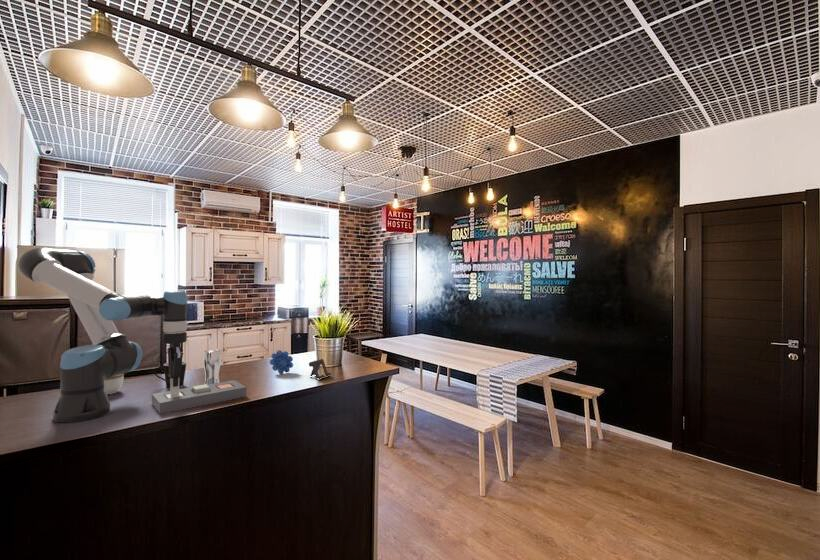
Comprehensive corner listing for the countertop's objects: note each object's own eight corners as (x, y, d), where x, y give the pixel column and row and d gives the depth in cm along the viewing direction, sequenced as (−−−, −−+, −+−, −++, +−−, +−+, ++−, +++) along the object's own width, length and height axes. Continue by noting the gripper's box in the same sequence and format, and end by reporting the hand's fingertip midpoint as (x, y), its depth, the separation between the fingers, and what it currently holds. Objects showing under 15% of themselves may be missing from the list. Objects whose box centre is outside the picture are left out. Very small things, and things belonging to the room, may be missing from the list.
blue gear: (271, 377, 186) (271, 352, 186) (268, 373, 192) (268, 350, 192) (295, 374, 192) (295, 350, 192) (291, 371, 198) (292, 348, 198)
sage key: (195, 396, 146) (195, 389, 146) (191, 393, 150) (192, 386, 150) (209, 394, 150) (209, 387, 150) (205, 391, 153) (205, 384, 153)
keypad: (159, 414, 134) (159, 403, 134) (151, 404, 144) (151, 393, 144) (246, 396, 155) (246, 387, 155) (234, 389, 165) (234, 380, 165)
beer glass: (222, 383, 173) (223, 351, 173) (206, 386, 168) (206, 353, 168) (217, 380, 178) (217, 348, 178) (200, 383, 173) (201, 350, 172)
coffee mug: (190, 383, 172) (190, 361, 172) (177, 389, 163) (177, 366, 163) (166, 382, 173) (166, 360, 173) (152, 388, 165) (152, 365, 164)
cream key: (168, 405, 140) (168, 398, 140) (165, 402, 143) (165, 394, 143) (183, 402, 143) (183, 395, 143) (180, 399, 147) (180, 392, 147)
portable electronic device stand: (319, 381, 180) (319, 363, 180) (306, 379, 184) (306, 361, 184) (331, 376, 188) (331, 360, 188) (318, 375, 192) (318, 358, 191)
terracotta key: (220, 395, 152) (220, 388, 152) (216, 392, 156) (216, 385, 156) (233, 393, 156) (233, 386, 156) (229, 390, 159) (229, 383, 159)
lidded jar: (130, 390, 161) (130, 368, 161) (104, 398, 151) (104, 374, 151) (111, 388, 164) (111, 366, 164) (83, 395, 153) (84, 372, 153)
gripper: (191, 333, 141) (190, 396, 141) (182, 329, 150) (181, 388, 151) (167, 335, 136) (167, 400, 136) (159, 331, 145) (159, 392, 145)
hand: (174, 394), depth 143 cm, fingers closed
